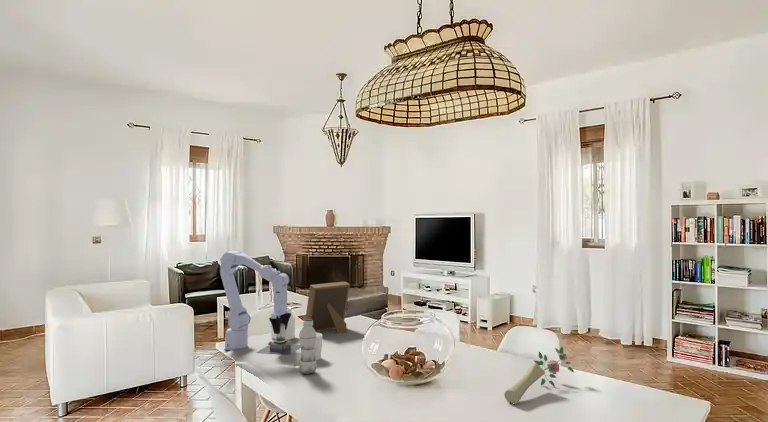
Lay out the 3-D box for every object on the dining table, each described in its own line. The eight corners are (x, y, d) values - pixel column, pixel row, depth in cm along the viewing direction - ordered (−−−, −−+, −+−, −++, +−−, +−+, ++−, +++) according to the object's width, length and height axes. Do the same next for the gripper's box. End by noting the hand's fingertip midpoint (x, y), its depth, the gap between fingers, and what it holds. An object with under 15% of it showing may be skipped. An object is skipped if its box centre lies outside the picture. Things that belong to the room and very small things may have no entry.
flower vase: (505, 423, 159) (549, 374, 184) (538, 423, 150) (579, 371, 175) (491, 388, 159) (537, 344, 185) (523, 386, 151) (567, 341, 176)
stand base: (255, 355, 209) (255, 344, 209) (271, 345, 225) (271, 335, 225) (289, 357, 206) (289, 346, 206) (304, 347, 221) (304, 337, 221)
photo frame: (303, 331, 251) (304, 283, 251) (338, 325, 265) (339, 280, 265) (319, 337, 240) (319, 287, 240) (354, 331, 253) (355, 283, 253)
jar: (267, 339, 235) (267, 308, 236) (280, 335, 244) (280, 305, 244) (284, 342, 229) (284, 311, 230) (298, 338, 238) (298, 307, 238)
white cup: (320, 361, 200) (320, 337, 201) (301, 361, 201) (301, 337, 201) (323, 355, 208) (323, 332, 208) (305, 355, 208) (305, 332, 209)
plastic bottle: (313, 376, 182) (313, 322, 182) (296, 374, 183) (296, 322, 184) (319, 370, 188) (319, 319, 188) (302, 369, 190) (302, 318, 190)
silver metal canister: (274, 343, 214) (274, 325, 214) (278, 341, 218) (278, 323, 218) (282, 344, 213) (282, 325, 213) (286, 341, 217) (286, 323, 217)
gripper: (281, 304, 208) (281, 336, 207) (295, 298, 222) (295, 328, 222) (266, 303, 209) (266, 335, 209) (281, 298, 223) (281, 327, 223)
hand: (280, 331), depth 215 cm, fingers open, 7 cm apart
